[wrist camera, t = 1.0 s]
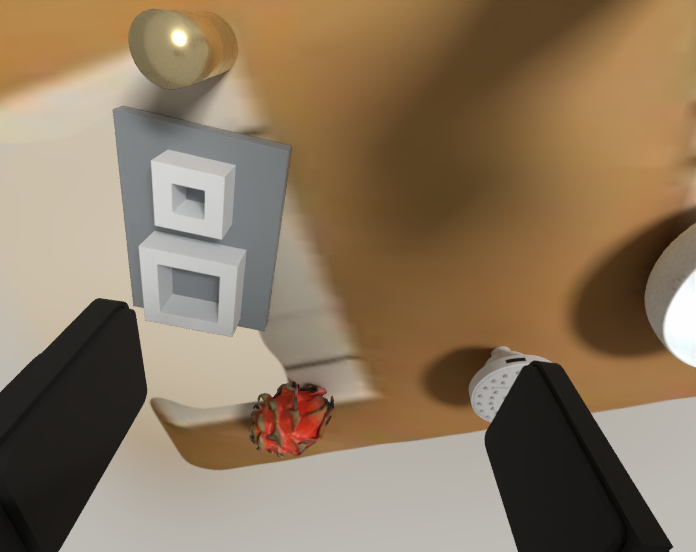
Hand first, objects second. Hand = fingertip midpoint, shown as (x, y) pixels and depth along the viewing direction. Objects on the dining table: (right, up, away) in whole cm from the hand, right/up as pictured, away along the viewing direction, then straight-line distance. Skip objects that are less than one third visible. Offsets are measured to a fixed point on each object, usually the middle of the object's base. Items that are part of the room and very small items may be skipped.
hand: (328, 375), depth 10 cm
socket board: (-13, +7, +28) cm, 32 cm away
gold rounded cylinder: (-10, +20, +20) cm, 29 cm away
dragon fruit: (-6, -13, +41) cm, 43 cm away
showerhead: (+18, -7, +36) cm, 40 cm away
